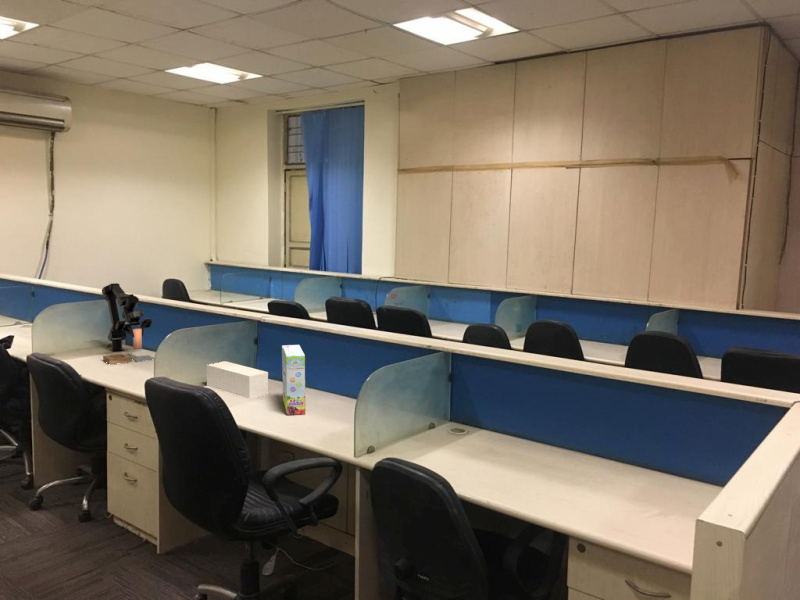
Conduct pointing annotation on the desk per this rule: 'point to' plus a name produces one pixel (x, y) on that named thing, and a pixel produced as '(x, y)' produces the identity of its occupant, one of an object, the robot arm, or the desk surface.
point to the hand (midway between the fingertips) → (138, 336)
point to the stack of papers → (237, 379)
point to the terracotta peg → (137, 339)
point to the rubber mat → (142, 358)
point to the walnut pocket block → (117, 358)
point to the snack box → (293, 379)
